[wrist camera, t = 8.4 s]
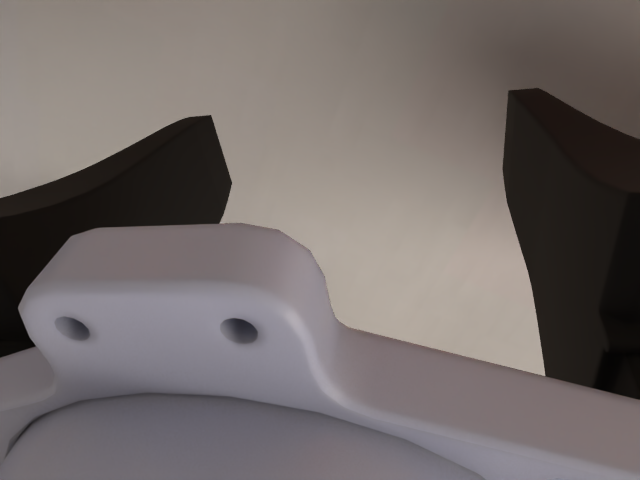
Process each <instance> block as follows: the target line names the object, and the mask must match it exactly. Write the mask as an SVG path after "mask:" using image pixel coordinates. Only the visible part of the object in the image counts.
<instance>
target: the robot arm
mask: <svg viewBox="0 0 640 480" xmlns="http://www.w3.org/2000/svg"><path fill="white" fill-rule="evenodd" d="M503 176H504V184H505V191H506V198H507V203H508V207H509V210H510V214H511V217H512V221H513V224H514V227H515V231H516V234H517V237H518V240H519V244H520V247H521V250H522V253H523V257H524V260H525V263H526V266H527V270H528V273H529V278H530V282H531V286H532V291H533V297H534V303H535V309H536V315H537V321H538V327H539V334H540V340H541V347H542V354H543V360H544V368H545V375H546V376H542V375H538V374H534V373H530V372H526V371H522V370H518V369H514V368H510V367H506V366H502V365H498V364H494V363H490V362H486V361H482V360H478V359H474V358H470V357H466V356H462V355H458V354H453V353H449V352H445V351H441V350H437V349H433V348H429V347H425V346H421V345H417V344H413V343H409V342H405V341H401V340H397V339H393V338H389V337H385V336H381V335H377V334H373V333H369V332H365V331H361V330H357V329H353V328H349V327H347V326H346V325H344V324H342V323H341V322H339V321H338V320H337V318H336V317H335V315H334V312H333V310H332V307H331V304H330V299H329V294H328V290H327V285H326V280H325V276H324V274H323V273H322V271H321V269H320V267H319V265H318V264H317V262H316V260H315V258H314V257H313V255H312V253H311V251H310V250H309V249H307V248H306V247H304V246H303V245H301V244H300V243H298V242H297V241H295V240H294V239H292V238H290V237H289V236H287V235H286V234H284V233H283V232H281V231H280V230H277V229H271V228H266V227H260V226H255V225H249V224H244V223H226V224H219V223H220V221H221V218H222V216H223V214H224V211H225V208H226V204H227V201H228V197H229V193H230V189H231V185H232V181H231V178H230V175H229V172H228V168H227V165H226V162H225V159H224V155H223V152H222V149H221V146H220V142H219V139H218V136H217V133H216V129H215V126H214V123H213V120H212V117H211V115H208V116H196V117H188V118H185V119H182V120H179V121H177V122H175V123H172V124H170V125H168V126H166V127H164V128H162V129H161V130H159V131H157V132H155V133H153V134H151V135H149V136H148V137H146V138H144V139H142V140H140V141H138V142H137V143H135V144H133V145H131V146H129V147H127V148H125V149H123V150H122V151H120V152H118V153H116V154H114V155H112V156H110V157H108V158H106V159H104V160H102V161H100V162H98V163H96V164H94V165H92V166H90V167H87V168H85V169H83V170H81V171H78V172H76V173H73V174H71V175H68V176H66V177H63V178H61V179H58V180H56V181H53V182H50V183H47V184H44V185H41V186H38V187H35V188H32V189H29V190H26V191H23V192H20V193H17V194H14V195H10V196H7V197H3V198H0V480H640V139H637V138H634V137H632V136H629V135H627V134H624V133H622V132H620V131H618V130H615V129H613V128H611V127H609V126H607V125H605V124H603V123H600V122H599V121H597V120H595V119H593V118H591V117H589V116H587V115H585V114H583V113H582V112H580V111H578V110H576V109H575V108H573V107H571V106H569V105H568V104H566V103H564V102H563V101H561V100H559V99H558V98H556V97H554V96H553V95H551V94H549V93H547V92H545V91H543V90H541V89H539V88H533V89H521V90H509V91H508V104H507V118H506V131H505V144H504V158H503Z"/></svg>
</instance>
